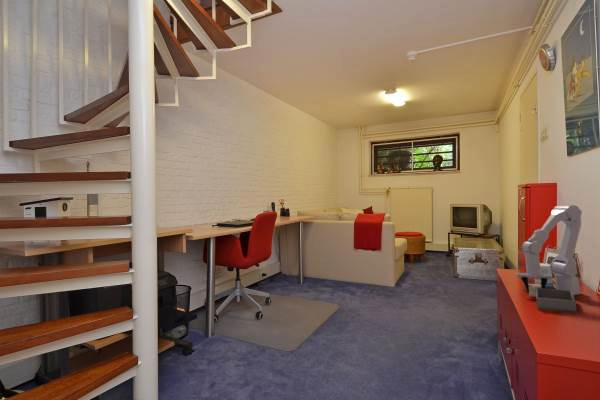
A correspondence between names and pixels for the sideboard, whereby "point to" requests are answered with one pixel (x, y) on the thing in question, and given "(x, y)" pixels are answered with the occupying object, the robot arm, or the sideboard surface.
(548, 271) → the ink box
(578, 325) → the sideboard surface
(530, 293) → the cube
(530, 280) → the capsule
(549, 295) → the tote
